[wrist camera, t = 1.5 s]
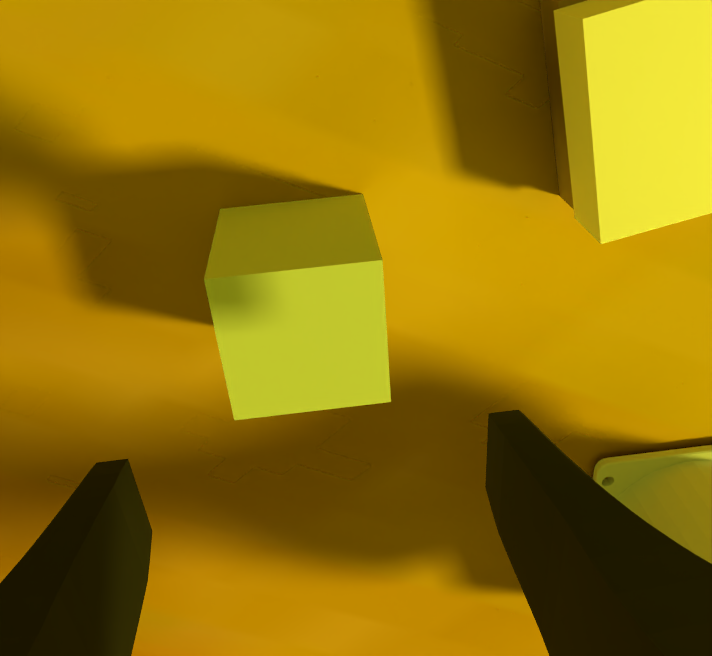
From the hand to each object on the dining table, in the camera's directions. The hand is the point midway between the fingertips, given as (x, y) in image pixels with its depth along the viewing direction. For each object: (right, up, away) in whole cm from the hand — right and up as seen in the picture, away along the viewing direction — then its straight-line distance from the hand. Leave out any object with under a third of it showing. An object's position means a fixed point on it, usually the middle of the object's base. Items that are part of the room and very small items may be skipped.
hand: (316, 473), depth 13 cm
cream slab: (+10, +10, +5) cm, 15 cm away
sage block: (-1, +5, +9) cm, 10 cm away
